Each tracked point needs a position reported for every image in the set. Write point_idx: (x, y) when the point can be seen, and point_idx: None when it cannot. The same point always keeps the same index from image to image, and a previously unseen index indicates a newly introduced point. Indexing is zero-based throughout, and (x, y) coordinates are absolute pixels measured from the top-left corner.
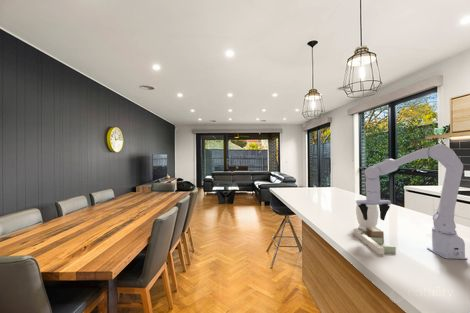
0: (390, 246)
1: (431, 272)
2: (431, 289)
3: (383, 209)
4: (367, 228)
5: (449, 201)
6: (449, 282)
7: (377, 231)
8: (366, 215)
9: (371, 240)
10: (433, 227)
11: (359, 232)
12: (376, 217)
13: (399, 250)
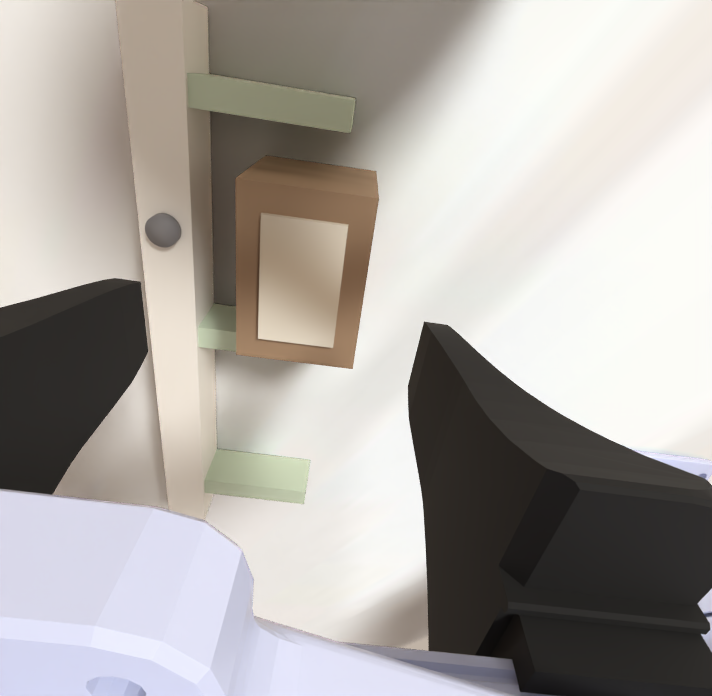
0: (274, 494)
1: (325, 610)
2: None
3: (437, 577)
4: (237, 217)
5: None
6: None
7: (291, 352)
8: (84, 421)
9: (182, 405)
10: (707, 636)
11: (148, 184)
12: None
13: (362, 446)
